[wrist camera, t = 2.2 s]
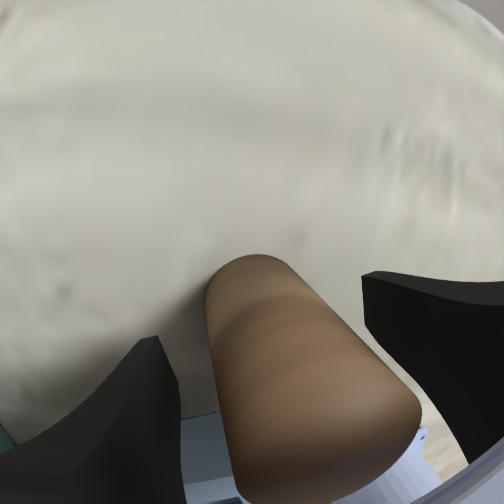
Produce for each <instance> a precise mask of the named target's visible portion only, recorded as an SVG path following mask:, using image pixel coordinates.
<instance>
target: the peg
mask: <svg viewBox="0 0 504 504" xmlns="http://www.w3.org/2000/svg"><path fill="white" fill-rule="evenodd" d="M204 308H205V316H206V323H207V330H208V337H209V344H210V350H211V357H212V363H213V369H214V376H215V382H216V388H217V393H218V399H219V405H220V410H221V416H222V421H223V427H224V432H225V437H226V442H227V447H228V452H229V457H230V462H231V467H232V472H233V477H234V481H235V486H236V488H237V491H238V493H239V494H240V495H241V496H242V498H244V499H245V500H246V501H247V502H249V503H251V504H328V503H331V502H333V501H336V500H339V499H341V498H344V497H346V496H348V495H350V494H352V493H354V492H356V491H358V490H360V489H362V488H363V487H365V486H367V485H368V484H370V483H371V482H373V481H374V480H376V479H377V478H378V477H380V476H381V475H382V474H384V473H385V472H386V471H387V470H388V469H389V468H391V467H392V466H393V465H394V464H395V463H396V462H397V461H398V460H399V459H400V457H401V456H402V455H403V454H404V453H405V451H406V450H407V449H408V447H409V446H410V444H411V443H412V441H413V439H414V438H415V436H416V434H417V431H418V429H419V426H420V423H421V417H422V408H421V404H420V401H419V400H418V398H417V396H416V395H415V394H414V393H413V392H412V391H411V390H410V389H409V388H408V387H407V386H406V385H405V384H404V383H403V382H402V381H401V380H400V378H399V377H398V376H397V375H396V374H395V373H394V372H393V371H392V370H391V369H390V368H389V367H388V366H387V365H386V364H385V363H384V362H383V361H382V360H381V359H380V358H379V357H378V356H377V355H376V354H375V353H374V352H373V350H372V349H371V348H370V347H369V346H368V345H367V344H366V343H365V342H364V341H363V340H362V339H361V338H360V337H359V336H358V335H357V334H356V333H355V332H354V331H353V330H352V329H351V328H350V327H349V326H348V325H347V324H346V323H345V322H344V321H343V320H342V319H341V318H340V317H339V316H338V315H337V314H336V313H335V312H334V311H333V310H332V309H331V308H330V306H329V305H328V304H327V303H326V302H325V301H324V300H323V299H322V298H321V297H320V296H319V295H318V294H317V293H316V292H315V291H314V290H313V289H312V288H311V287H310V286H309V285H308V284H307V283H306V282H305V281H304V280H303V279H302V278H301V277H300V276H299V275H298V274H297V273H296V272H295V271H294V270H293V269H292V268H291V267H290V266H289V265H287V264H286V263H285V262H283V261H282V260H280V259H278V258H275V257H272V256H268V255H261V254H254V255H247V256H243V257H240V258H237V259H235V260H233V261H231V262H229V263H228V264H226V265H225V266H223V267H222V268H221V269H220V270H219V271H218V272H217V273H216V274H215V275H214V277H213V278H212V280H211V281H210V283H209V285H208V287H207V290H206V294H205V300H204Z"/></svg>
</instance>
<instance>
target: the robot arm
mask: <svg viewBox="0 0 504 504" xmlns="http://www.w3.org/2000/svg"><path fill="white" fill-rule="evenodd" d="M361 279H362V291H363V305H364V322H365V326H366V327H367V329H368V330H369V332H370V333H371V335H372V336H373V337H374V339H375V340H376V341H377V342H378V344H379V345H380V346H381V347H382V348H383V349H384V350H385V351H386V352H387V353H388V354H389V355H390V356H391V357H392V358H393V359H394V360H395V361H396V362H397V363H398V364H399V365H400V366H401V367H402V368H403V369H404V370H405V371H406V372H407V373H408V374H409V375H410V376H411V377H412V378H413V379H414V380H415V381H416V382H417V383H418V385H419V386H420V387H421V388H422V389H423V391H424V392H425V393H426V395H427V396H428V397H429V399H430V400H431V401H432V403H433V404H434V405H435V407H436V408H437V410H438V411H439V413H440V414H441V416H442V417H443V419H444V420H445V422H446V423H447V425H448V427H449V428H450V430H451V432H452V433H453V435H454V437H455V438H456V440H457V442H458V444H459V446H460V448H461V449H462V451H463V453H464V455H465V457H466V459H467V462H468V464H469V465H468V466H467V467H466V468H464V469H463V470H462V471H460V472H459V473H457V474H456V475H455V476H453V477H452V478H450V479H449V480H447V481H446V482H444V483H443V482H442V481H441V479H440V478H439V477H438V475H437V474H436V473H435V472H434V470H433V469H432V468H431V467H430V465H429V464H428V463H427V462H426V460H425V459H424V458H423V457H422V455H421V454H422V451H423V448H424V444H425V441H426V437H427V434H428V429H427V427H422V428H420V429H418V431H417V434H416V436H415V438H414V439H413V441H412V443H411V444H410V446H409V447H408V449H407V450H406V451H405V453H404V454H403V455H402V456H401V457H400V459H399V460H398V461H397V462H396V463H395V464H394V465H393V466H392V467H391V468H389V469H388V470H387V471H386V472H385V473H384V474H382V475H381V476H380V477H378V478H377V479H376V480H374V481H373V482H371V483H370V484H368V485H367V486H365V487H363V488H362V489H360V490H358V491H356V492H354V493H352V494H350V495H348V496H346V497H344V498H341V499H339V500H336V501H333V502H331V504H504V281H498V282H459V281H448V280H439V279H432V278H425V277H419V276H413V275H407V274H401V273H394V272H386V271H374V272H371V273H368V274H365V275H363V276H361ZM0 504H187V501H186V496H185V490H184V484H183V478H182V471H181V403H180V394H179V387H178V381H177V379H176V377H175V375H174V372H173V370H172V368H171V366H170V363H169V361H168V359H167V356H166V354H165V352H164V349H163V347H162V345H161V342H160V340H159V337H158V335H156V336H152V337H148V338H144V339H140V340H139V341H138V342H137V343H136V344H135V346H134V347H133V348H132V349H131V350H130V351H129V353H128V354H127V355H126V356H125V358H124V359H123V360H122V361H121V362H120V364H119V365H118V366H117V367H116V368H115V370H114V371H113V372H112V373H111V374H110V375H109V376H108V377H107V378H106V380H105V381H104V382H103V383H102V384H101V385H100V386H99V387H98V388H97V389H96V390H95V391H94V392H93V393H92V394H91V395H90V396H89V397H88V398H87V399H86V400H85V401H84V402H83V403H82V404H81V405H79V406H78V407H77V408H76V409H75V410H74V411H72V412H71V413H70V414H68V415H67V416H66V417H64V418H63V419H62V420H60V421H59V422H58V423H56V424H55V425H53V426H52V427H51V428H49V429H48V430H46V431H44V432H43V433H41V434H39V435H38V436H36V437H34V438H32V439H31V440H29V441H27V442H25V443H23V444H21V445H19V446H17V447H14V448H12V449H10V450H7V451H5V452H3V453H0Z"/></svg>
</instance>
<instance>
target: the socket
mask: <svg viewBox="0 0 504 504" xmlns="http://www.w3.org/2000/svg"><path fill="white" fill-rule="evenodd" d="M181 471H182V478H183V484H184V490H185V496H186V501H187V504H251V503H249V502H247V501H246V500H245V499H244V498H242V496H241V495H240V494H239V493H238V491H237V488H236V486H235V481H234V477H233V472H232V467H231V462H230V457H229V452H228V447H227V442H226V437H225V432H224V427H223V421H222V416H221V411H220V412H216V413H212V414H207V415H203V416H198V417H194V418H189V419H184V420H181Z"/></svg>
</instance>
